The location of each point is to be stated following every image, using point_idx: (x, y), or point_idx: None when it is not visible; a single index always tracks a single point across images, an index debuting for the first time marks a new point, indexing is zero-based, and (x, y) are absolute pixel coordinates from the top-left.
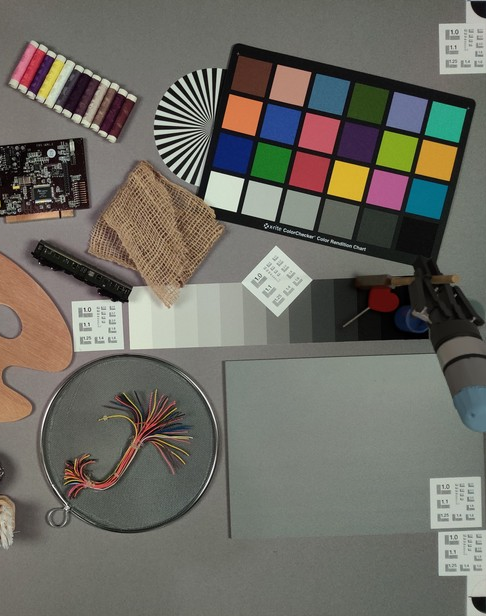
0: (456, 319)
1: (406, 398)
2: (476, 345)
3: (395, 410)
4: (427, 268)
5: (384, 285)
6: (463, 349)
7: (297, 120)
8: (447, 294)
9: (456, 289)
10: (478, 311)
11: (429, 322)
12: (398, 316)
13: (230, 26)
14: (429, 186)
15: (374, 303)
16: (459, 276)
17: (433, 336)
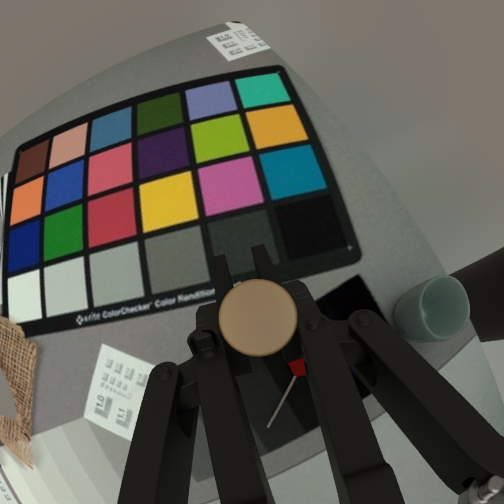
0: None
1: (417, 459)
2: None
3: (408, 482)
4: (225, 294)
5: (249, 356)
6: None
7: (81, 169)
8: (318, 399)
9: (363, 333)
10: (453, 291)
11: None
12: (349, 365)
13: (14, 138)
14: (286, 154)
15: (299, 365)
16: (273, 284)
17: None
